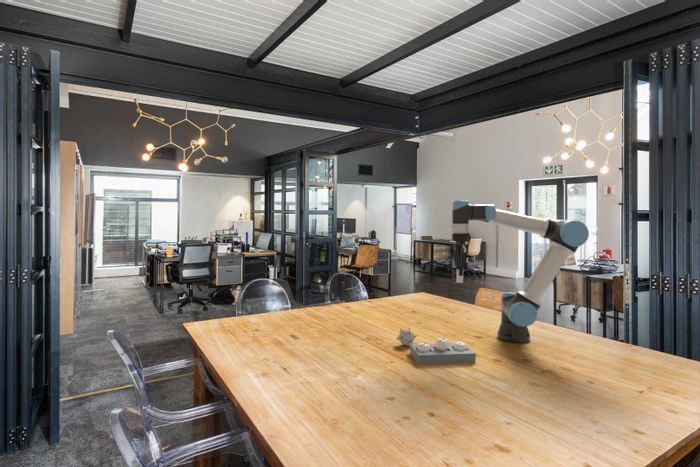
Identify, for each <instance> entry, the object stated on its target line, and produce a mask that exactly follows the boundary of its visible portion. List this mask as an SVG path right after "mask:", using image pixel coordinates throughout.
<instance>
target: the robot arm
mask: <svg viewBox="0 0 700 467" xmlns="http://www.w3.org/2000/svg"><path fill="white" fill-rule="evenodd" d="M451 214H452V215H451V216H452V220H451V223H452V225H451V228H452V229H451V231H452V234H451V236H452V237H451V238H452V239H451V240H452V242H455V244H454V246H453V247H452V249H453V260H454V262H453V263H454V267H455V268H456V283H460V284H461V283H464V269H466V267H467V257H468V256H467V255H468V251H469V249H468V247H467V246H466V242H469V240H470V238H469V236H470V235H469V231H470V222H469V221H477V222H478V221H480V222H484V223H489V224H493V225H497V226H500V227H501V226H502V227H505V228H510V229H515V230H518V231H523V232H526V233H531V234H536V235H539V237H540V238H543V239H545V240H546V239H547V240H548V242H549V247H548V248H547V250H546V252H544V255H543V256H542V258H541V260H540V261H539V262H538V265H537V266H536V268H535V270H534V271H533V272H532V274H531V275H530V277H529V278H528V280H527V282H526V283H525V285H524V287H523V288H522V289H521V290H517V291H516V292H509V291H508V292H502V293H501V297H500V299H501V313H500V314H501V320H500V321H501V322H500V324H499V327H498V330H497V335H496V337H497V338H498V339H499V340H501V341H504V342H510V343H517V344H521V343H523V344H524V343H529V342H530V341H531V334H530V331H529V329H528V327H529V326H532V325H533V324H534V323H535V322H536V321H537V318H538V311H539V310H540V308H541V307H542V302H541V299H542V298H543V297H544V295H545V293H546V291H548V289H549V287H550V286H551V284H552V282H553V281H554V279H555V278H556V276H557V275H558V273H559V271H560V270H561V268H562V267H563V265H564V264H565V262H566V260H567V259H568V257H569V256H571V255H574V254H575V253H576V252H577V251H578V248H579V247H581V246H582V245H584V244H586V243H587V241H588V240H589V237H590V236H589V235H590V234H589V233H590V231H589V229H588V227H587V225H586V224H585V223H584V222H582V221H580V220H577V219H574V218H573V219H553V218H544V219H542V218H538V217H534V216H529V215H525V214H520V213H516V212H511V211H506V210H501V209H497V207H496V205H495V204H490V203H489V204H488V203H487V204H482V203H481V204H470V201H469V200H468V199H467V200H465V199H464V200H463V199H458V200H456V199H455V200H454V201H452V213H451Z"/></svg>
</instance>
